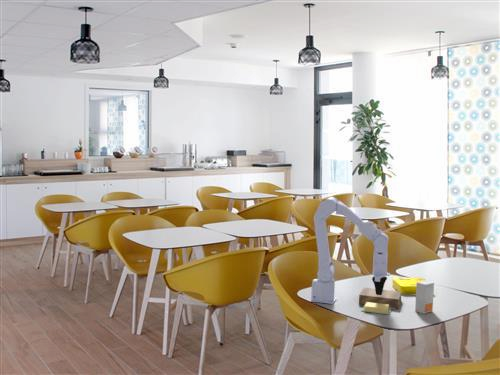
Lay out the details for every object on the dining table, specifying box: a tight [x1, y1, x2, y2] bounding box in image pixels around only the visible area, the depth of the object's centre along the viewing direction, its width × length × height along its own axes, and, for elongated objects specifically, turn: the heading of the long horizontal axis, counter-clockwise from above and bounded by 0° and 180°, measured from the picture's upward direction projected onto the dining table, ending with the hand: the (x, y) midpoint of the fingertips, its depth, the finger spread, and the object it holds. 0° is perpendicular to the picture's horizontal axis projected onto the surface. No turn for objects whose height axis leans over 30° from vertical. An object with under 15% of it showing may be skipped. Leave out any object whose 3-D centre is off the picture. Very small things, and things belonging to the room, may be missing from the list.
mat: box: [360, 305, 393, 315], centre depth 224 cm, size 11×9×1 cm
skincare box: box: [414, 280, 435, 314], centre depth 222 cm, size 6×4×12 cm
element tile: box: [392, 276, 427, 296], centre depth 254 cm, size 15×15×5 cm
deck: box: [358, 287, 402, 310], centre depth 234 cm, size 16×12×4 cm
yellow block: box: [363, 302, 389, 315], centre depth 222 cm, size 9×6×2 cm, turn 69°
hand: (378, 294), depth 228 cm, fingers closed
